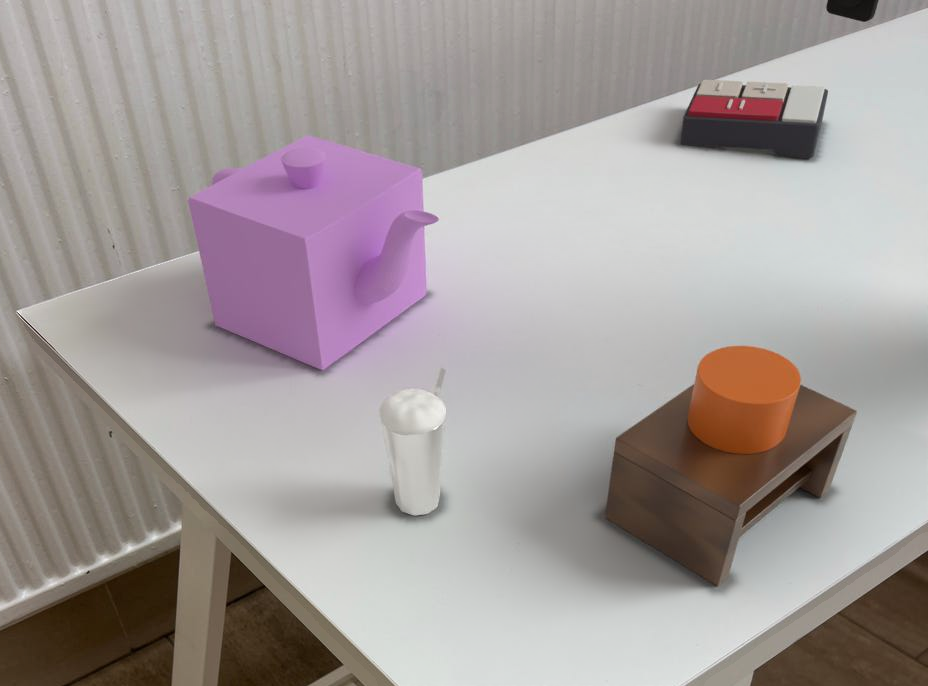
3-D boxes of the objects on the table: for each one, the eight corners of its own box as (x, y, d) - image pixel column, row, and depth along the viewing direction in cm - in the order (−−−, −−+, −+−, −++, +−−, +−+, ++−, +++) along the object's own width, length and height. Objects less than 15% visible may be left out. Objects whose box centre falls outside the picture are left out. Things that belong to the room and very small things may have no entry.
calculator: (699, 75, 117) (830, 81, 113) (695, 113, 120) (822, 120, 116) (683, 110, 110) (821, 118, 106) (679, 150, 113) (813, 158, 109)
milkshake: (468, 495, 73) (467, 381, 65) (417, 531, 70) (410, 416, 63) (426, 469, 75) (420, 355, 67) (374, 502, 72) (363, 388, 65)
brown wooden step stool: (828, 491, 72) (857, 410, 67) (717, 586, 66) (739, 506, 61) (717, 433, 77) (736, 353, 72) (604, 517, 71) (615, 437, 65)
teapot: (388, 398, 81) (375, 235, 70) (177, 309, 91) (139, 155, 80) (489, 317, 89) (491, 160, 78) (286, 243, 99) (264, 95, 88)
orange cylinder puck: (805, 423, 66) (821, 372, 63) (749, 467, 63) (763, 416, 60) (724, 384, 69) (736, 334, 66) (667, 424, 66) (677, 374, 63)
